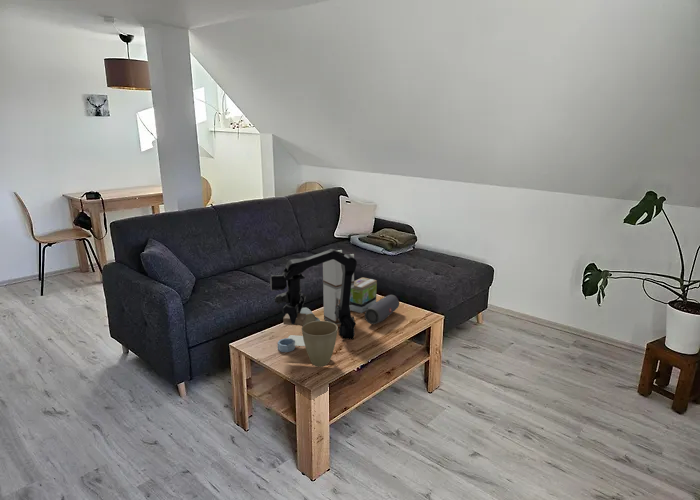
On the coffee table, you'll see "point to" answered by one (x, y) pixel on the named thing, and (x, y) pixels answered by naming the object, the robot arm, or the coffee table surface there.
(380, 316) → the bluetooth speaker
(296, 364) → the coffee table surface
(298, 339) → the mat
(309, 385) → the coffee table surface
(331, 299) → the tall grey upright box
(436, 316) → the coffee table surface
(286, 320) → the lid
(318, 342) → the plant pot
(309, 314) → the ceramic mug
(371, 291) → the tea box
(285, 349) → the bowl
